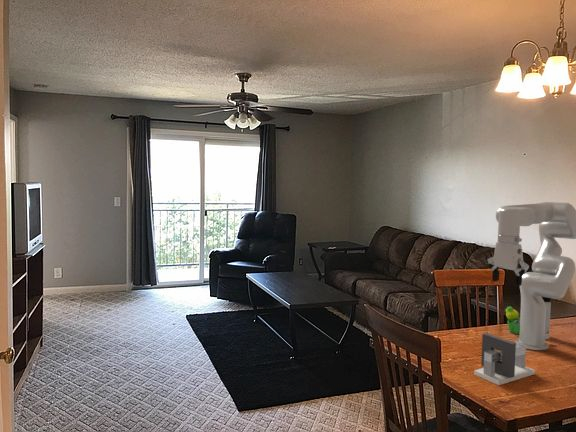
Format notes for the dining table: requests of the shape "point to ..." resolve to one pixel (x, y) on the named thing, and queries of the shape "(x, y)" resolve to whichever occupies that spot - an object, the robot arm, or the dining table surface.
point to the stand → (499, 379)
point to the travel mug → (547, 314)
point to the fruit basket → (513, 320)
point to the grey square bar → (497, 354)
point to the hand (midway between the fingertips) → (506, 283)
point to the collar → (508, 353)
